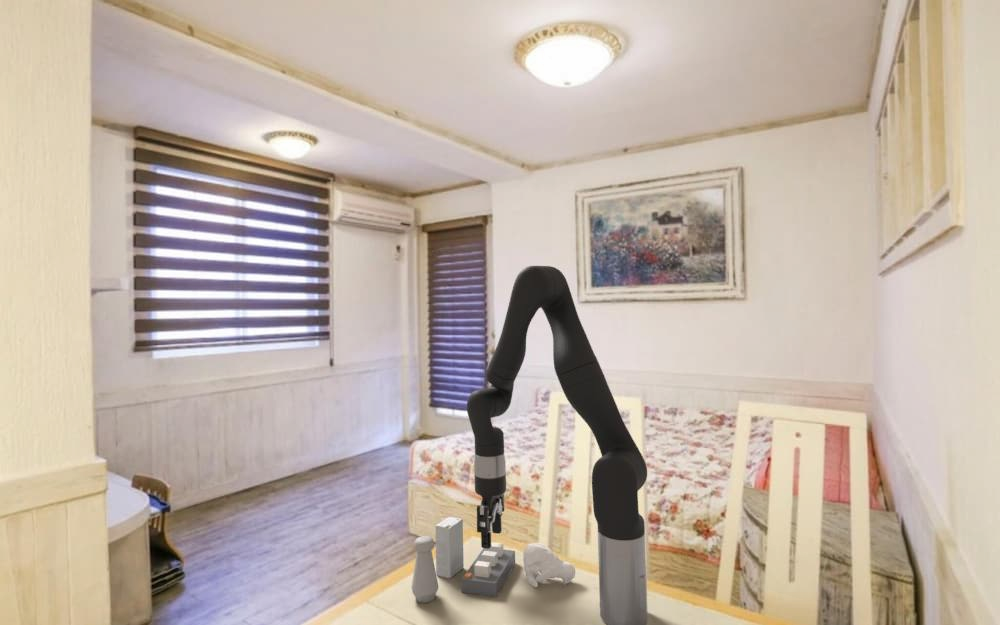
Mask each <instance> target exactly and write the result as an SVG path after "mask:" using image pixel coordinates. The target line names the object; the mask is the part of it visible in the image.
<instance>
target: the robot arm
mask: <svg viewBox="0 0 1000 625" xmlns="http://www.w3.org/2000/svg"><path fill="white" fill-rule="evenodd" d="M511 290H512V291H511V293H510V294H511V295H510V299H509V303H508V307H507V310H506V314H505V319H504V323H503V326H502V330H501V334H500V337H499V340H498V342H497V344H496V347H495V349H494V352H493V354H492V357H491V359H490V361H489V364H488V366H487V369H486V372H485V378H486V380H487V382H489V384H490V386H489V387H488V388H482V389H477V390H474V391H472V392H471V393H470V394H469V396H468V399H467V400H466V411H467V415H468V420H469V423H470V426H471V429H472V432H473V433H472V434H473V436H474V462H473V466H474V467H473V468H474V470H473V471H474V472H473V473H474V491H475V494H476V495H478V496H480V497H481V502H480V504H478V505H477V506H476V532H477V533H480V542H481V545H480V546H481V548H482V549H484V548H487V549H489V548H490V547H491V542H492V533H493V534H501V533H502V530H503V529H502V517H503V512H505V495H504V494H505V493H506V492H507V473H506V472H507V470H506V468H507V466H506V457H505V436H504V432H503V430H502V428H500V427H497V426H493V423H492V418H496V417H500V416H501V415H504V414H505V413H506V412H507V411H508V409H509V408H510V406H511V403H512V397H513V392H514V384H515V381H516V378H518V377H517V376H518V374H519V372H520V371H521V370H520V369H521V368H522V365H523V363H524V361H525V357H526V351H527V334H528V331H529V330H528V329H529V327H530V324H531V322H532V320H533V318H534V317H535V315H536V314H537V312H538V310H539V309H542V311H543V314H544V315H545V317H546V319H547V322H548V324H549V327H550V330H551V333H552V347H553V349H552V350H553V354H552V355H553V368H554V372H555V375H556V376H557V379H558V382H559V385H560V387H561V389H562V392H563V394H564V396H565V398H566V400H567V401H568V403H569V404H570V405H571V406H572V408H573V410H575V411H576V413H577V414H578V415H579V416H580V417H581V419H582V420H583V421H584V423H586V424H587V426H588V427H589V429H590V430H591V433H592V434H593V435H594V436H593V437H594V438H595V440H596V444H597V445H598V448H599V451H600V455H601V457H599V458H597V459H598V460H596V461H595V463H594V465H593V468H592V472H591V491H592V505H593V506H592V507H593V515H594V518H595V521H596V523H597V547H598V548H597V549H598V550H597V551H598V552H597V553H598V579H599V580H598V581H599V582H598V584H599V588H598V589H599V592H598V593H599V614H600V615H599V616H600V618H601V621H603V622H604V623H605V624H607V625H648V582H647V578H648V577H647V564H646V538H645V537H646V536H645V535H646V534H645V533H646V532H645V530H646V527H645V525H646V524H645V519H644V518H643V516H642V515H641V514H640V512H639V497H638V496H639V494H638V493H639V492H638V491H640V490H641V488H642V487H644V485H645V483H646V481H647V478H648V467H647V463H646V460H645V459H644V457H643V454H642V453H641V451H640V450H639V447H638V445H636V442H635V440H634V438H633V436H632V435H631V433H630V432H629V429H628V427H627V425H626V423H625V422H624V420H623V418H622V415H621V413H620V411H619V408H618V405H617V403H616V401H615V398H614V395H613V393H612V391H611V389H610V386H609V384H608V382H607V379H606V376H605V374H604V372H603V370H602V367H601V365H600V363H599V361H598V358H597V356H596V354H595V353H594V350H593V348H592V345H591V343H590V341H589V338H588V336H587V334H586V331H585V328H584V327H583V325H582V323H581V319H580V317H579V314H578V312H577V308H576V305H575V302H574V299H573V295H572V293H571V290H570V287H569V284H568V281H567V279H566V276H565V275H564V274H563V272H562V271H560V269H558V268H556V267H554V266H552V265H551V266H550V265H528V266H526V267H524V268H522V269H521V270H520V271H519V272H518V274H517V276H516V278H515V280H514V283H513V286H512V289H511Z"/></svg>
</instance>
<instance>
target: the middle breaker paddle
mask: <svg viewBox="0 0 1000 625" xmlns="http://www.w3.org/2000/svg"><path fill="white" fill-rule="evenodd" d="M481 557H482V561H484V562H491V566H493V567H495V566H496V564H497V562H498V559H497V552H492V551H484V552H483V553H482V555H481Z"/></svg>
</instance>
